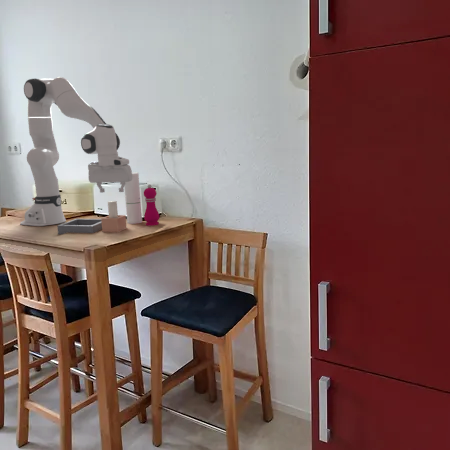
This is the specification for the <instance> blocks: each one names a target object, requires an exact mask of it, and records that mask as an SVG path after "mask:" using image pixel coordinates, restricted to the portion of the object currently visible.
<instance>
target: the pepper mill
mask: <svg viewBox="0 0 450 450" xmlns="http://www.w3.org/2000/svg"><path fill="white" fill-rule="evenodd" d="M157 194H158V193H157V190H156V189H155V188H154V187H152V185H151V184H148V185H147V188H145V189H144V190H143V196H144V199H145V201H144V202H146V206H145V207H146V208H145V211H144V214H143V215H144V216H143V219H144V220H145V226H149V227H151V226H152V227H153V226H158V225H160V222H159V220H160V214H159V211H158V209H157V207H156V201H157V200H156V196H157Z"/></svg>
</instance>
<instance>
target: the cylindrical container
mask: <svg viewBox="0 0 450 450" xmlns="http://www.w3.org/2000/svg"><path fill="white" fill-rule="evenodd" d="M139 176H140V173H139V172H136V171H135V172H134V171H132V177H133V178H132V180H131V181H129V182H125V186H124V188H123V189H124V197H125V208H126V224H132V225H135V224H140V223H143V215H142V202H141V191H140V189H141V188H140V177H139Z"/></svg>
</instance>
